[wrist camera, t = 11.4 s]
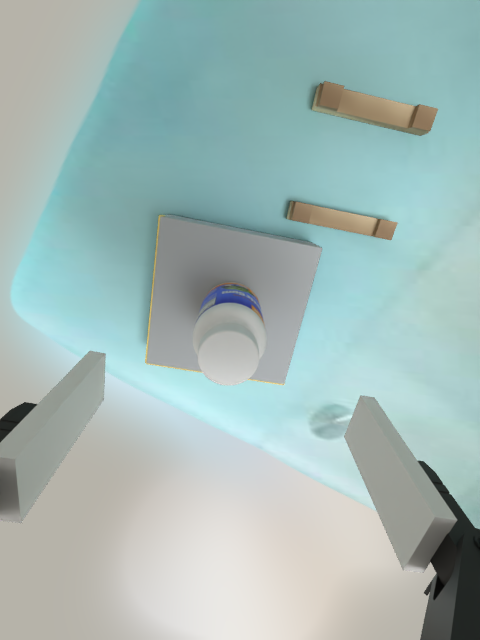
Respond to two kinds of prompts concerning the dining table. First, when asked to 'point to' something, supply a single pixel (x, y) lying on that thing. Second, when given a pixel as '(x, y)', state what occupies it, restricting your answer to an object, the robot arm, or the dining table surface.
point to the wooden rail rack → (372, 112)
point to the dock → (221, 267)
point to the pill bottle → (229, 334)
